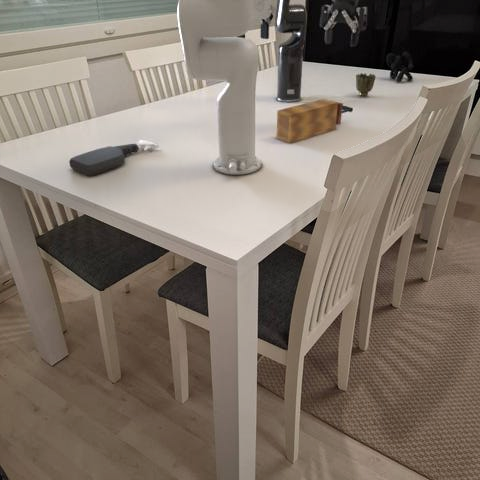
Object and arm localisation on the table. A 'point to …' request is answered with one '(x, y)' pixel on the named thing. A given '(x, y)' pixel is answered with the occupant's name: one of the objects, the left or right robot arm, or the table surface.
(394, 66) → the squiggle
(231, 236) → the table surface
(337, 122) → the drawer
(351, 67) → the table surface
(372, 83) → the cup
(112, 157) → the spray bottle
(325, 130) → the cabinet
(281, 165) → the table surface
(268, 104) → the table surface
